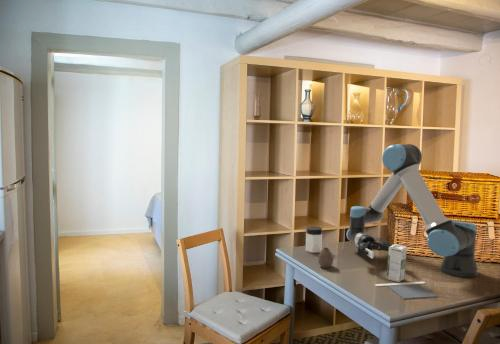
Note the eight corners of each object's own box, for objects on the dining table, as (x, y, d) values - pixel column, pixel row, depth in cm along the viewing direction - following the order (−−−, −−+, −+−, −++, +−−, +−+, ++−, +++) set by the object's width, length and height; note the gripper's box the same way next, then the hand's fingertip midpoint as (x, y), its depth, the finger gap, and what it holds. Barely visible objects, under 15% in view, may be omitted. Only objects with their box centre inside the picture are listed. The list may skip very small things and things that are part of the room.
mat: (418, 285, 168) (418, 284, 167) (437, 297, 156) (437, 296, 156) (387, 287, 165) (387, 286, 165) (403, 299, 153) (403, 298, 153)
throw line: (423, 282, 171) (423, 281, 171) (425, 283, 169) (425, 283, 169) (375, 285, 167) (375, 284, 167) (376, 286, 165) (376, 285, 165)
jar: (308, 253, 209) (309, 230, 208) (302, 248, 217) (303, 226, 216) (324, 252, 211) (325, 229, 210) (318, 247, 219) (319, 226, 218)
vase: (327, 263, 193) (328, 245, 192) (335, 268, 187) (336, 249, 186) (315, 264, 191) (315, 246, 190) (322, 269, 184) (323, 250, 184)
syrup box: (391, 276, 178) (393, 243, 176) (405, 279, 174) (407, 246, 173) (386, 279, 174) (388, 246, 172) (400, 283, 170) (402, 249, 168)
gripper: (388, 248, 204) (412, 262, 183) (341, 250, 199) (360, 264, 178) (388, 233, 203) (413, 245, 182) (341, 235, 198) (361, 247, 178)
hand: (387, 254), depth 180 cm, fingers open, 13 cm apart
